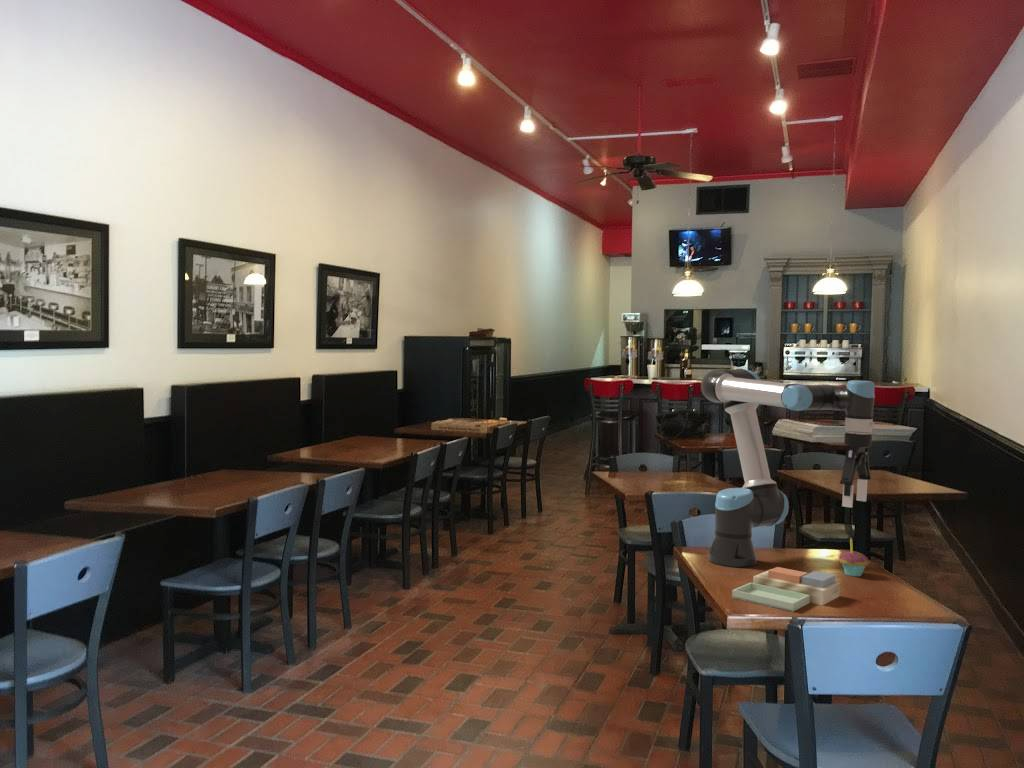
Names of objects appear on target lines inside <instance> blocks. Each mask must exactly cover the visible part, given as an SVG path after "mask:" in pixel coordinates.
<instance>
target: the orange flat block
mask: <svg viewBox="0 0 1024 768" xmlns="http://www.w3.org/2000/svg"><path fill="white" fill-rule="evenodd" d="M770 569H771V570H770ZM770 569H768V570H767V571H768V578H773V579H778V580H783V581H788V582H793V583H798V584H800V583H802V576H804V575H807V574H809V573H808V572H806V571H800V570H795V569H790V568H784V567H781V566H780V567H779V566H776V567H774V568H770Z"/></svg>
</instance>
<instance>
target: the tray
mask: <svg viewBox="0 0 1024 768" xmlns="http://www.w3.org/2000/svg"><path fill="white" fill-rule="evenodd" d="M731 593H732V594H731V599H735V600H739V601H743V602H749V603H751V604H756V605H760V606H765V607H770V608H772V609H773V608H774V609H779V610H782V611H783V610H784V611H788V612H792V613H794V612H795V611H797V610H799V609H801V608H803V607H805V606H807V605H809V604H811V603H810V595H807V594H803V593H798V592H793V591H788V590H784V589H779V588H774V587H770V586H765V585H760V584H755V583H753V582H748V583H745V584H744V585H742V586H739V587H736V588H734V589H732V591H731Z"/></svg>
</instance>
